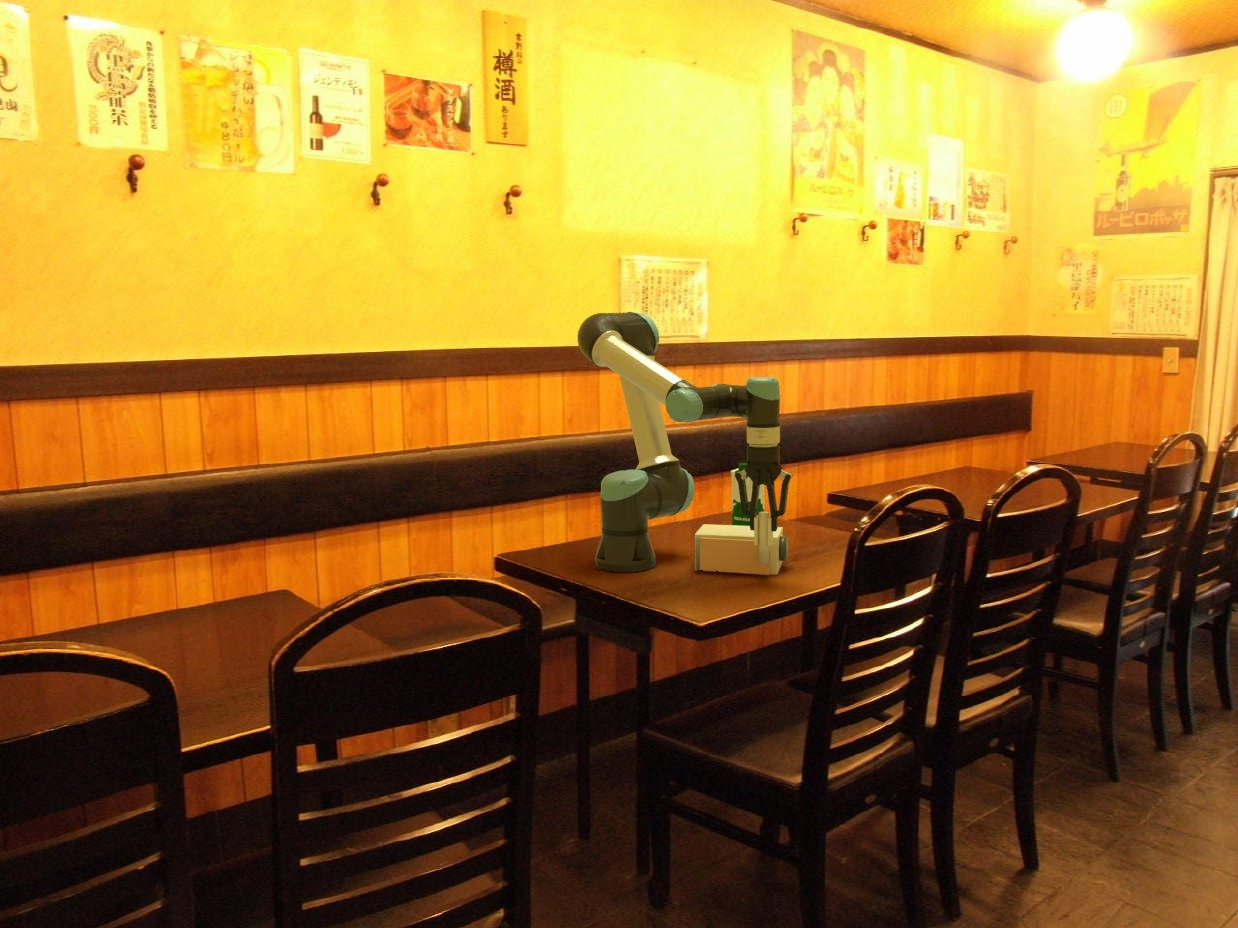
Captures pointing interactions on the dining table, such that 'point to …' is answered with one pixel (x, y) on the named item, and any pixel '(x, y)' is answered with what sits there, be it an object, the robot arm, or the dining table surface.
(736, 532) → the camera body
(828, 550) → the dining table surface
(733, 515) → the milk carton
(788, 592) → the dining table surface
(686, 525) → the dining table surface
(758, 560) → the side door
